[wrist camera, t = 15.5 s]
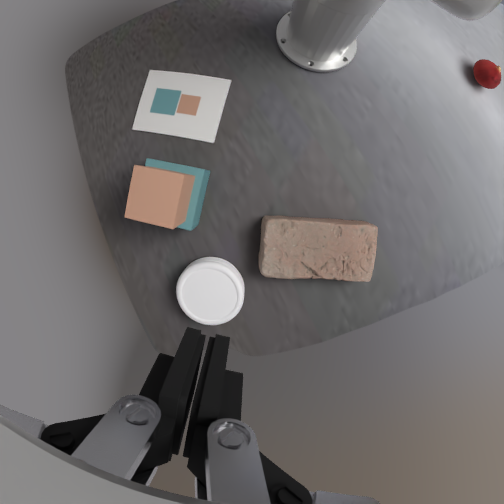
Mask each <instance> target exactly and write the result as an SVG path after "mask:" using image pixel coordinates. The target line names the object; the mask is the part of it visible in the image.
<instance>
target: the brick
mask: <svg viewBox="0 0 504 504" xmlns="http://www.w3.org/2000/svg"><path fill="white" fill-rule="evenodd" d="M377 231H378V228H377V226H375V225H373V224H370V223H368V222H365V221H355V220H343V219H329V218H303V217H288V216H264V217H263V218H262V224H261V242H260V251H259V256H258V257H259V262H258V263H259V269H260V272H261V274H262V275H264V276H265V277H274V278H285V279H298V278H303V279H307V278H313V279H317V278H323V279H336V280H344V281H364V282H368V281H370V279H371V276H372V270H373V268H374V261H375V255H376V243H377Z"/></svg>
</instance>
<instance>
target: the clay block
mask: <svg viewBox="0 0 504 504" xmlns="http://www.w3.org/2000/svg"><path fill="white" fill-rule="evenodd" d="M194 180H195V175H190V174H185V173H181V172H176V171H171V170H166V169H161V168H156V167H149V166H139V165H134V169H133V174H132V179H131V184H130V189H129V194H128V200H127V205H126V211H125V218H129V219H133V220H137V221H141V222H145V223H149V224H153V225H158V226H162V227H166V228H170V229H174V228H176V227H177V226H179V225H180V224H182V223H184V222H185V221H186V216H187V211H188V207H189V202H190V198H191V193H192V189H193V185H194Z"/></svg>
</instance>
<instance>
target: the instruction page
mask: <svg viewBox="0 0 504 504" xmlns="http://www.w3.org/2000/svg"><path fill="white" fill-rule="evenodd" d="M231 81H232V80H228V79H222V78H216V77H210V76H203V75H196V74H188V73H179V72H169V71H157V70H150V72H149V75H148V78H147V81H146V84H145V87H144V90H143V93H142V96H141V99H140V103H139V106H138V110H137V113H136V117H135V120H134V124H133V128H132V130H139V131H146V132H153V133H160V134H166V135H172V136H178V137H184V138H189V139H195V140H200V141H205V142H210V143H214V141H215V137H216V134H217V130H218V126H219V122H220V119H221V115H222V112H223V108H224V105H225V101H226V98H227V94H228V91H229V87H230V84H231Z"/></svg>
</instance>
